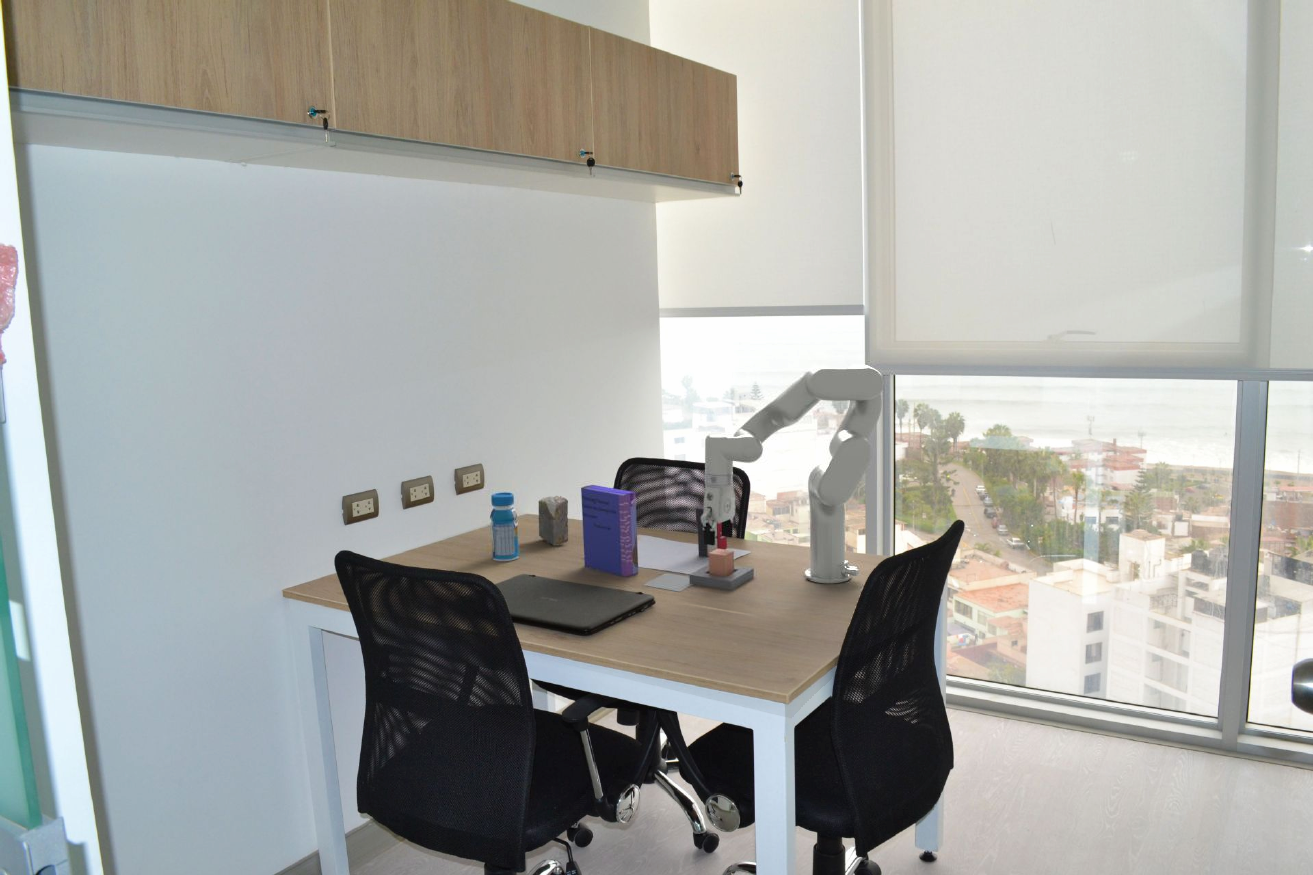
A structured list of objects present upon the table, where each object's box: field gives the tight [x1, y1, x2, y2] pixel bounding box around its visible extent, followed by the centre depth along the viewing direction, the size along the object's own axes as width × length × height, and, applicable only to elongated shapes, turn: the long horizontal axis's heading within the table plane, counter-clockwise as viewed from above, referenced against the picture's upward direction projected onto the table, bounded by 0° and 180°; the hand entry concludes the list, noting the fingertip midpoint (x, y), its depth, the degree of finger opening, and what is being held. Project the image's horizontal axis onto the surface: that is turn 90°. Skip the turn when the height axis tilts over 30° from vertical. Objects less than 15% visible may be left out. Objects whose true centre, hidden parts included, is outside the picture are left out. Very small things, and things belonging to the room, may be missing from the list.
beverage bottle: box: [489, 492, 520, 562], centre depth 297 cm, size 8×8×20 cm
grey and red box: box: [695, 505, 728, 558], centre depth 296 cm, size 11×4×15 cm, turn 143°
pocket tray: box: [688, 563, 755, 591], centre depth 269 cm, size 13×13×3 cm
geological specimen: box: [538, 495, 569, 546], centre depth 314 cm, size 11×6×15 cm, turn 33°
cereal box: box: [580, 484, 639, 578], centre depth 281 cm, size 17×5×24 cm, turn 47°
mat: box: [642, 572, 695, 593], centre depth 269 cm, size 12×12×1 cm
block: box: [708, 549, 735, 577], centre depth 268 cm, size 5×5×8 cm
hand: (718, 540), depth 267 cm, fingers open, 9 cm apart
